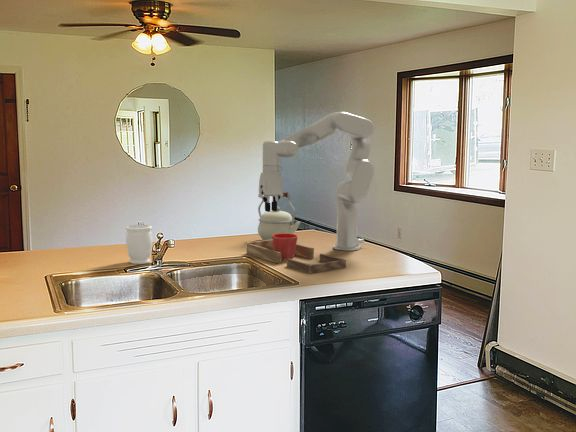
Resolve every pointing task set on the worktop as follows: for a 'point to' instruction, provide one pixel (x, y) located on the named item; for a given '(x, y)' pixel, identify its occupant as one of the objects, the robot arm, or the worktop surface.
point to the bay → (328, 265)
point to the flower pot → (285, 244)
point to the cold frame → (267, 251)
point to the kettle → (276, 221)
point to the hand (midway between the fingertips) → (270, 210)
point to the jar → (139, 243)
